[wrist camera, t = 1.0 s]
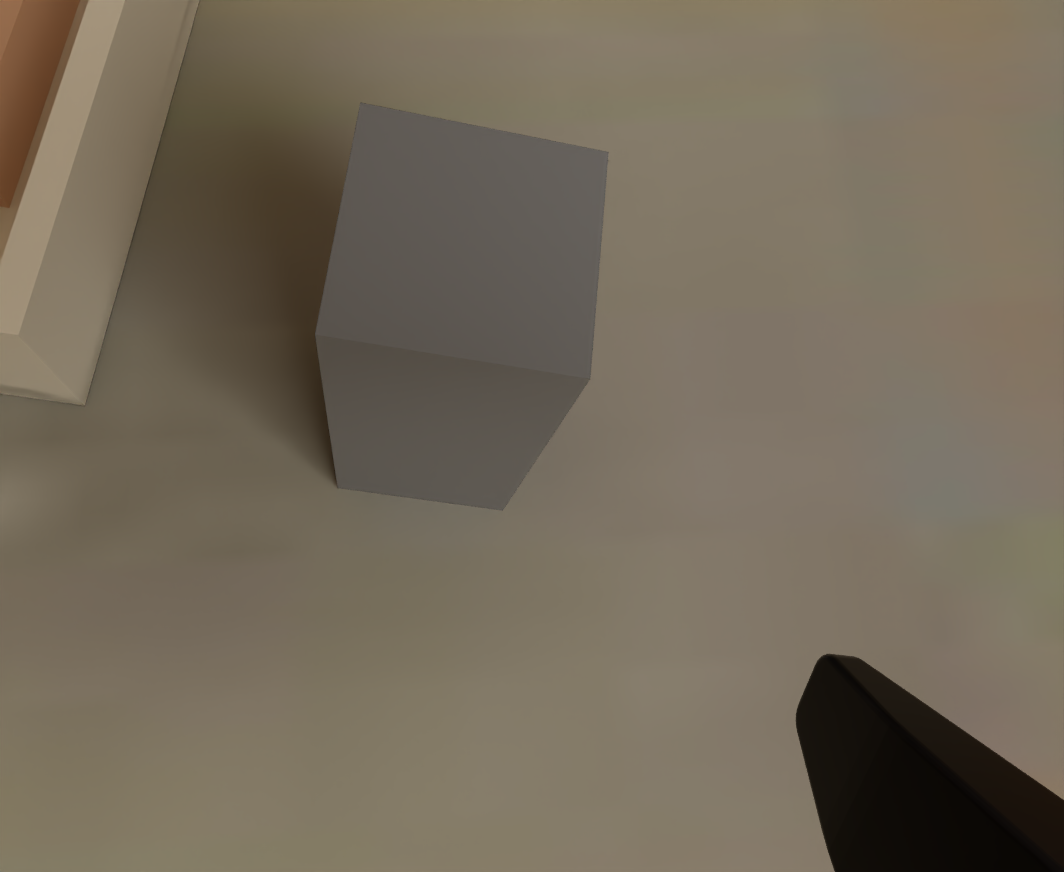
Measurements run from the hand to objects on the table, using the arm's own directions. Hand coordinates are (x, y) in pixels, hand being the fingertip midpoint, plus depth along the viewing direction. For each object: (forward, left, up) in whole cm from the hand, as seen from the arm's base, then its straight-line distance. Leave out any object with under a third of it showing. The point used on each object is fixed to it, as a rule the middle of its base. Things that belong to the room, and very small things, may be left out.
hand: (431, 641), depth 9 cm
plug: (+7, 0, -13) cm, 15 cm away
